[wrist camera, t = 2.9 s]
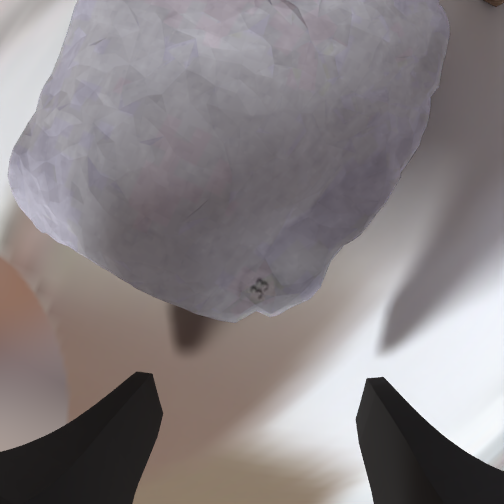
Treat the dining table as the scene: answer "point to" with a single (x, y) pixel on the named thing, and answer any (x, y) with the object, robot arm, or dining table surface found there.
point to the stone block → (227, 140)
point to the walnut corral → (495, 2)
